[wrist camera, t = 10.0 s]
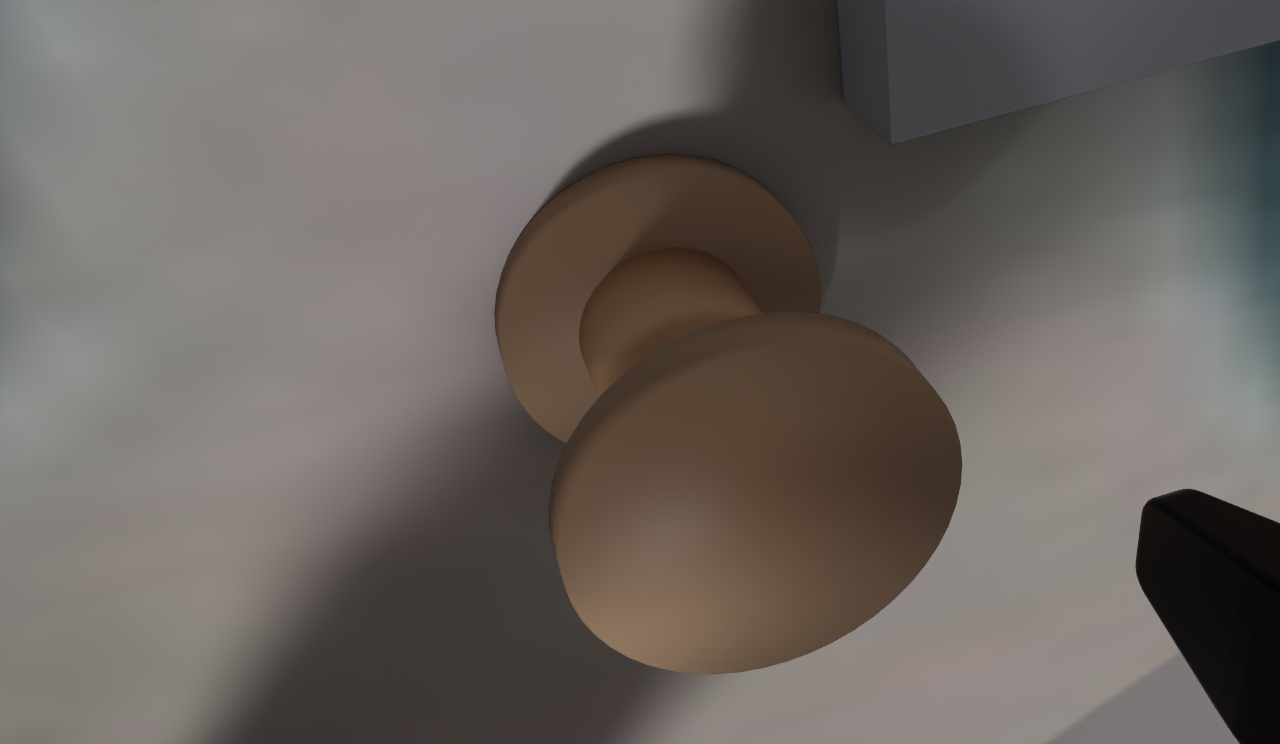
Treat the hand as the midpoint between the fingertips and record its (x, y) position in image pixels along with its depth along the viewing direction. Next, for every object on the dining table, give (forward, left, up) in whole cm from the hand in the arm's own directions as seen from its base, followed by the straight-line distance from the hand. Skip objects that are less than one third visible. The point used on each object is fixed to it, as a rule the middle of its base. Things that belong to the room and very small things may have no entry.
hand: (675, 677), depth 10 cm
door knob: (-4, -2, -12) cm, 12 cm away
